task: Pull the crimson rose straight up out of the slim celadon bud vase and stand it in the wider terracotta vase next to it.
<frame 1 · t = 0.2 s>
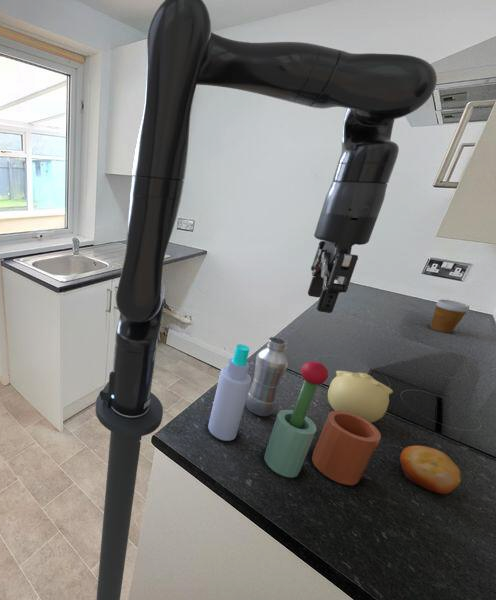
hand: (318, 303, 57), 33 cm above the counter, tool pointing down, fingers open, 8 cm apart
sculpture: (349, 413, 79), on the counter
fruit: (419, 481, 61), on the counter
disposable coffee cup: (440, 330, 132), on the counter
rose: (282, 459, 63), point 1 cm above the counter, touching celadon vase
silver metal bottle: (257, 411, 78), on the counter
terracotta vase: (334, 467, 63), on the counter
spray bottle: (221, 432, 71), on the counter
celadon vase: (281, 463, 63), on the counter
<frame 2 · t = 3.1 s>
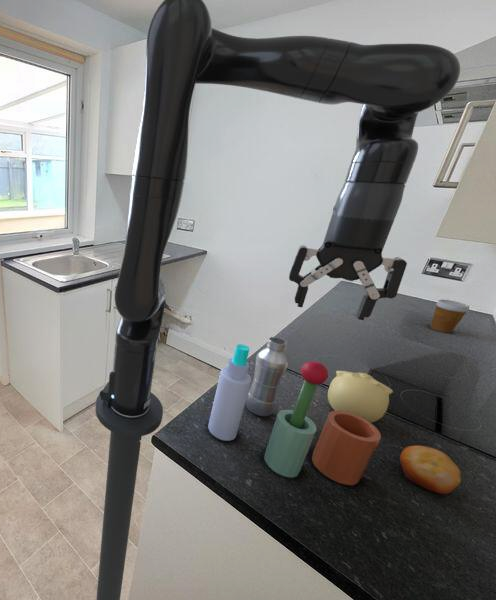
hand: (328, 311, 53), 33 cm above the counter, tool pointing down, fingers open, 8 cm apart
nothing on the counter moved.
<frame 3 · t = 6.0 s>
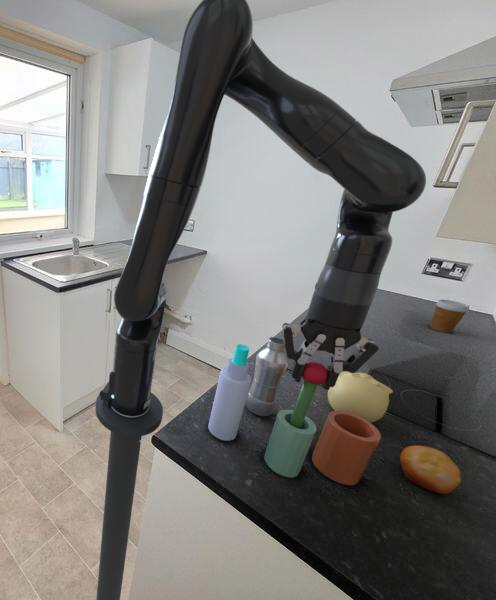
hand: (310, 382, 56), 20 cm above the counter, tool pointing down, fingers closed on rose, 4 cm apart
rose: (282, 459, 63), point 1 cm above the counter, touching celadon vase, gripper
everything else where it was.
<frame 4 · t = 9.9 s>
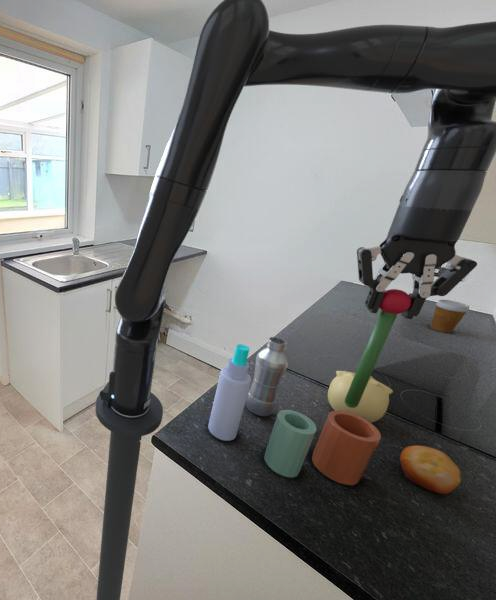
hand: (388, 313, 51), 34 cm above the counter, tool pointing down, fingers closed on rose, 4 cm apart
rose: (349, 406, 58), point 15 cm above the counter, touching gripper
everything else where it was.
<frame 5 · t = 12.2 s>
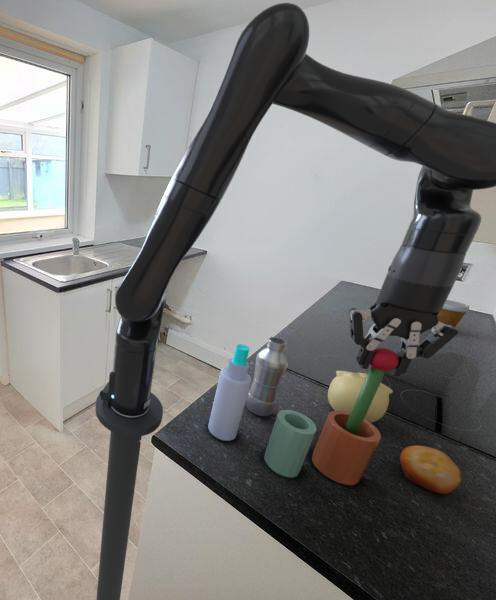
hand: (378, 369, 55), 23 cm above the counter, tool pointing down, fingers closed on rose, 4 cm apart
rose: (342, 450, 62), point 5 cm above the counter, touching gripper
everything else where it was.
when the fingers open (20 cm above the counter, at t = 13.8 s): rose stays where it is, resting on terracotta vase.
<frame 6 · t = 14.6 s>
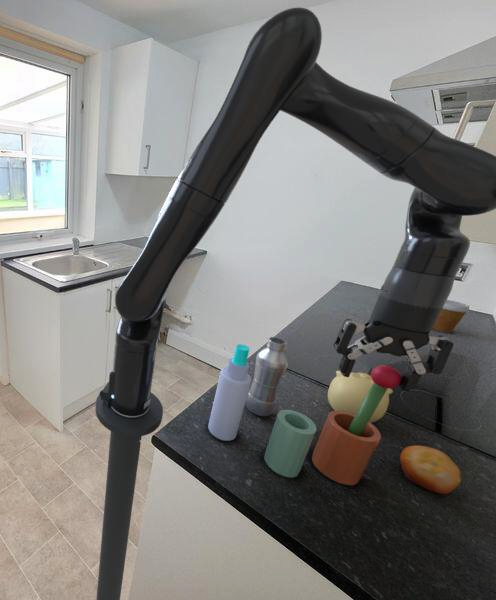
hand: (373, 381, 56), 21 cm above the counter, tool pointing down, fingers open, 8 cm apart
rose: (336, 463, 63), point 1 cm above the counter, tilted 6°, touching terracotta vase
everything else where it was.
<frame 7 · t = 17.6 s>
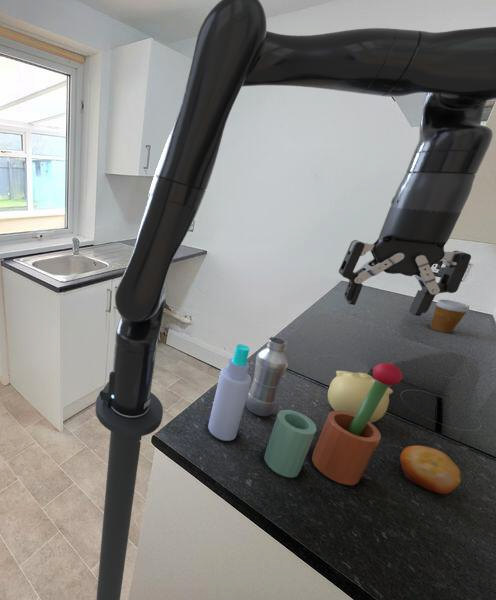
hand: (381, 308, 51), 35 cm above the counter, tool pointing down, fingers open, 8 cm apart
rose: (336, 463, 63), point 1 cm above the counter, tilted 12°, touching terracotta vase
everything else where it was.
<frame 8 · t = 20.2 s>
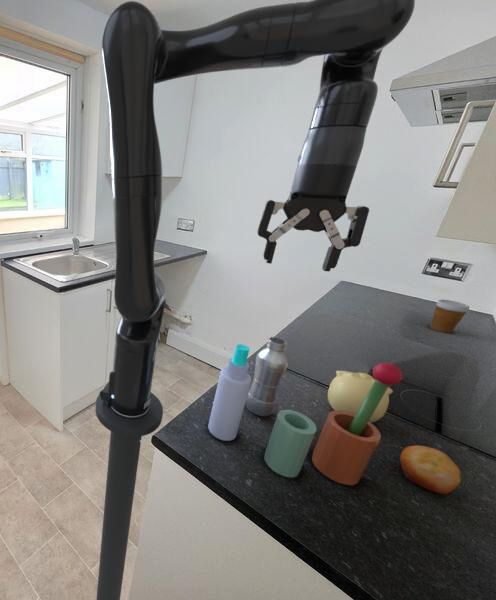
hand: (296, 266, 53), 40 cm above the counter, tool pointing down, fingers open, 8 cm apart
nothing on the counter moved.
at the end: rose 0.1 cm off-centre in the terracotta vase, point 1.0 cm above the terracotta vase's base; rose tilted 12°; the gripper is holding nothing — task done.
